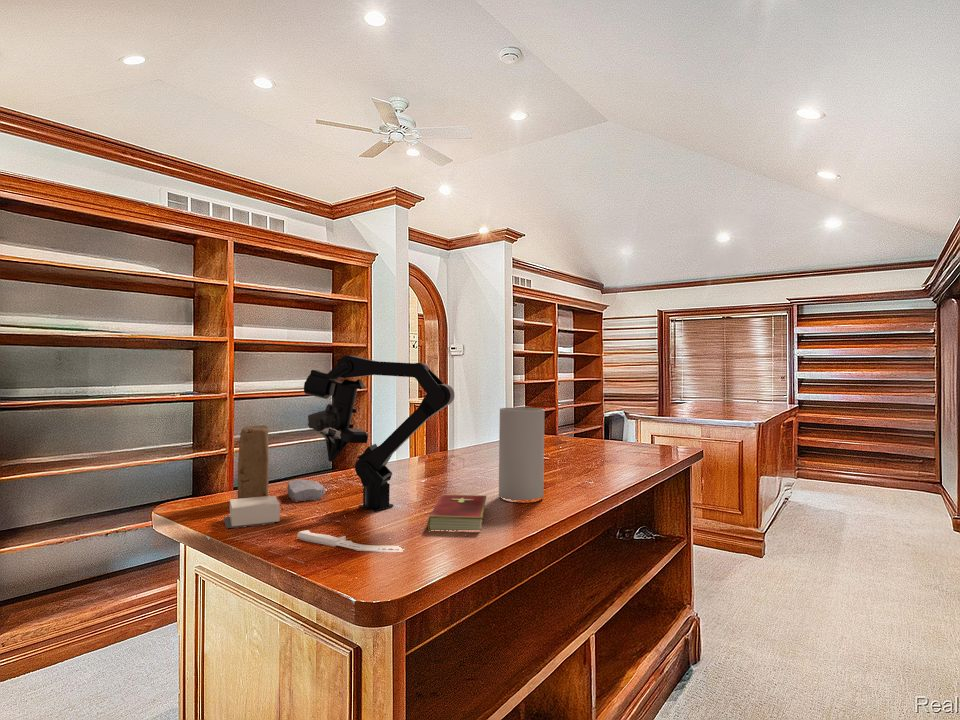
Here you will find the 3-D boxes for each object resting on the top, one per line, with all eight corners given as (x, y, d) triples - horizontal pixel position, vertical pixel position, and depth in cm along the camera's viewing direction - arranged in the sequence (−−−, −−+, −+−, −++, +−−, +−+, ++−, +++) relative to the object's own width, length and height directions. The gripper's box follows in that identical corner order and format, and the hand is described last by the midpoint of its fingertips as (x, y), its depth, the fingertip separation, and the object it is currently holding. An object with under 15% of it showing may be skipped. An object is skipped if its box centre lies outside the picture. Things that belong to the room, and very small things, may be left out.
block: (267, 505, 141) (268, 428, 142) (235, 507, 139) (237, 428, 139) (269, 496, 151) (270, 424, 152) (240, 497, 149) (241, 424, 149)
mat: (269, 513, 133) (269, 512, 133) (274, 523, 125) (274, 522, 125) (224, 518, 128) (224, 516, 128) (225, 529, 120) (226, 527, 120)
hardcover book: (427, 533, 120) (427, 514, 120) (439, 509, 141) (440, 493, 141) (481, 535, 119) (482, 516, 119) (486, 510, 140) (486, 494, 140)
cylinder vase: (498, 493, 159) (499, 407, 159) (541, 494, 158) (542, 407, 159) (498, 503, 146) (499, 410, 147) (545, 504, 146) (546, 411, 146)
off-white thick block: (274, 495, 133) (229, 499, 129) (279, 503, 125) (232, 508, 121) (274, 512, 133) (229, 516, 129) (279, 521, 125) (231, 526, 121)
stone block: (318, 497, 159) (283, 493, 155) (322, 481, 159) (287, 476, 155) (327, 508, 148) (289, 504, 144) (331, 490, 149) (293, 486, 144)
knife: (440, 547, 108) (420, 559, 101) (439, 556, 108) (419, 568, 101) (320, 523, 121) (295, 532, 113) (320, 530, 121) (295, 540, 113)
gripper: (296, 393, 142) (284, 451, 142) (338, 409, 130) (325, 472, 130) (332, 396, 150) (320, 451, 150) (374, 411, 139) (362, 471, 139)
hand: (331, 461), depth 142 cm, fingers closed
